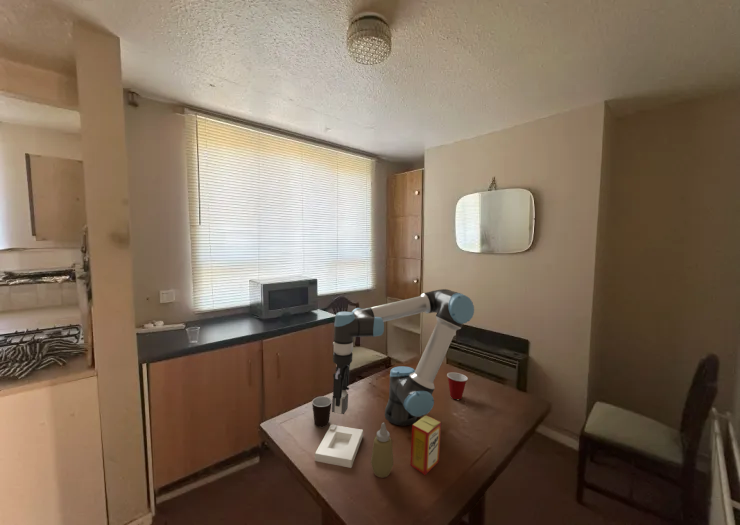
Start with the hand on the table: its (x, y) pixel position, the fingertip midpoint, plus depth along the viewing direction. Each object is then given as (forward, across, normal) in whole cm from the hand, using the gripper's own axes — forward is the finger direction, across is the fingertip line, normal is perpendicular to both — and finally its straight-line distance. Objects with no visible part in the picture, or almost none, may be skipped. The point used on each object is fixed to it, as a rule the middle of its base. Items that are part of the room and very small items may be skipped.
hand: (340, 409), depth 120 cm
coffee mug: (+16, -14, -12) cm, 24 cm away
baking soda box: (+15, 0, +34) cm, 37 cm away
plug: (0, 0, 0) cm, 0 cm away
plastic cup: (+14, -54, +47) cm, 73 cm away
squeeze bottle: (+15, +8, +19) cm, 26 cm away
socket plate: (+15, +1, +1) cm, 15 cm away
